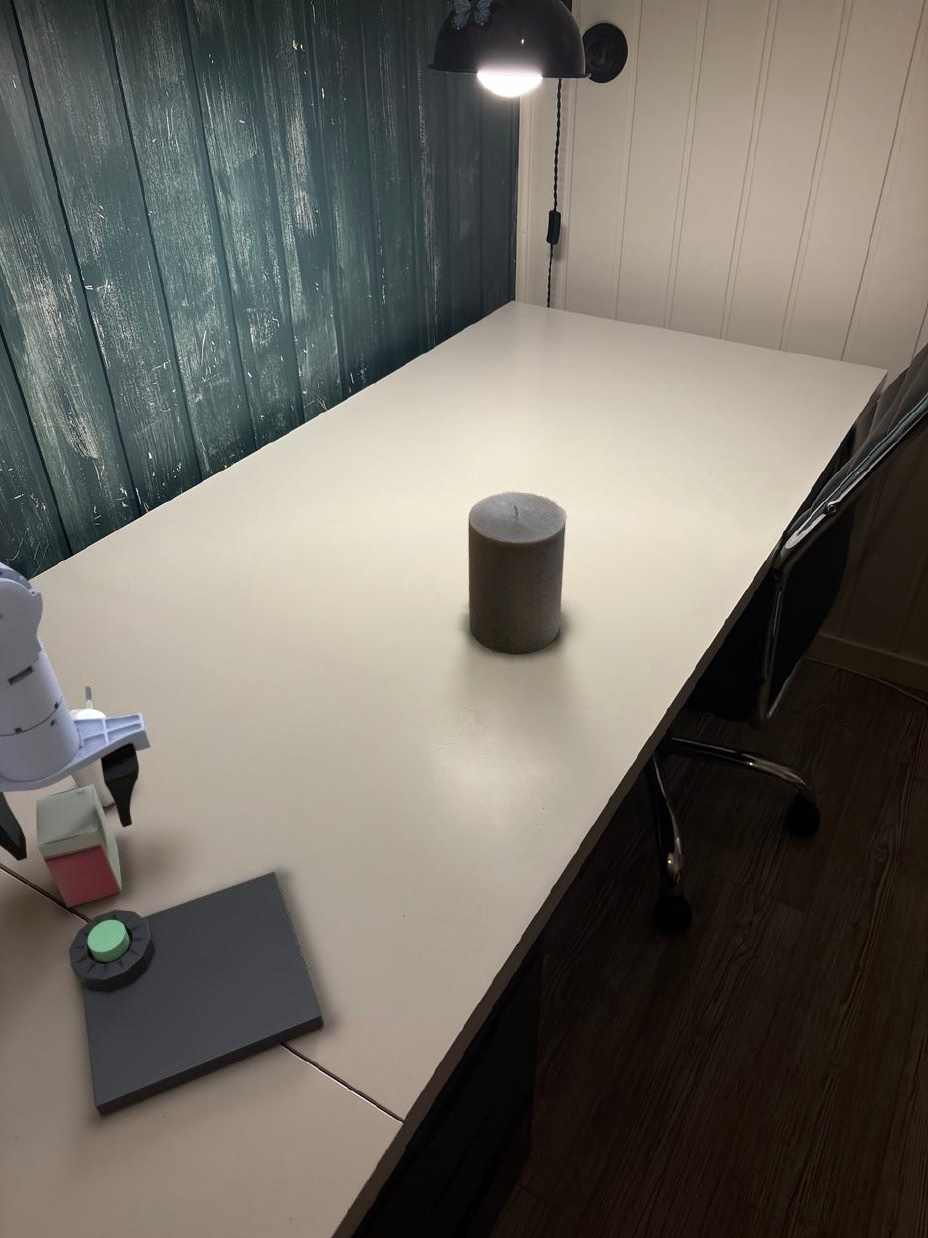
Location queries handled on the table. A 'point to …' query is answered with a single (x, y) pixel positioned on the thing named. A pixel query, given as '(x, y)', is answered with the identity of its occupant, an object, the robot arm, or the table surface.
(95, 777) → the milkshake
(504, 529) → the pillar candle
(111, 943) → the button
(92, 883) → the small box
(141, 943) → the scale
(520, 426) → the table surface
